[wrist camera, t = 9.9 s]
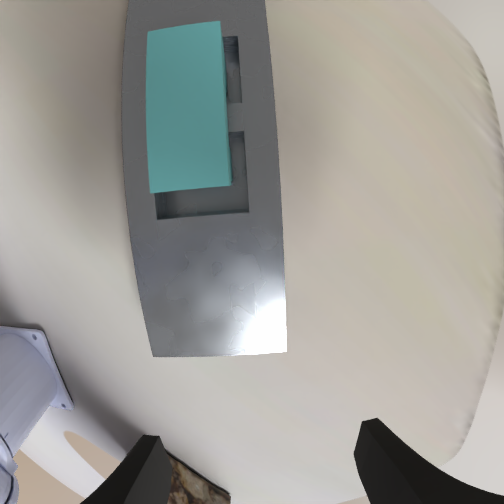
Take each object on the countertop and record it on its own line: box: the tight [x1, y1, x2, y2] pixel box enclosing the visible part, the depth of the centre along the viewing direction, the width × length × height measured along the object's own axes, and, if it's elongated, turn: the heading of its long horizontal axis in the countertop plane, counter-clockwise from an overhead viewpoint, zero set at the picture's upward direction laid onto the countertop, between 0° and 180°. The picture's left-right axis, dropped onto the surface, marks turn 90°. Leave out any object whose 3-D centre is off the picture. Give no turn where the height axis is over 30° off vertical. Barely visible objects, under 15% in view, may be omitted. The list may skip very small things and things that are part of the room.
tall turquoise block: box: [146, 21, 233, 194], centre depth 12 cm, size 7×3×5 cm, turn 3°
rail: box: [122, 0, 286, 357], centre depth 14 cm, size 7×24×3 cm, turn 4°
